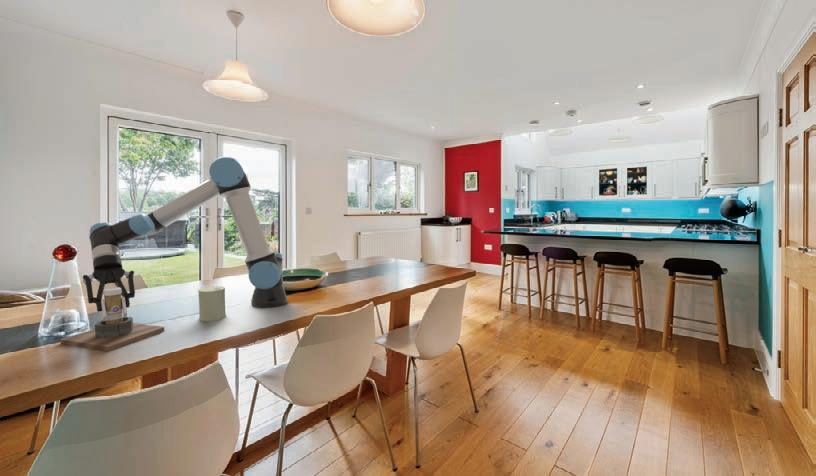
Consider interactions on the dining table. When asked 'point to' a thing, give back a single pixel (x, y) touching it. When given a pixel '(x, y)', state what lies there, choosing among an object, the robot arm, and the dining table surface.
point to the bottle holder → (112, 335)
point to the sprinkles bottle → (113, 305)
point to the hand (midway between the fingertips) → (115, 317)
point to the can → (212, 303)
